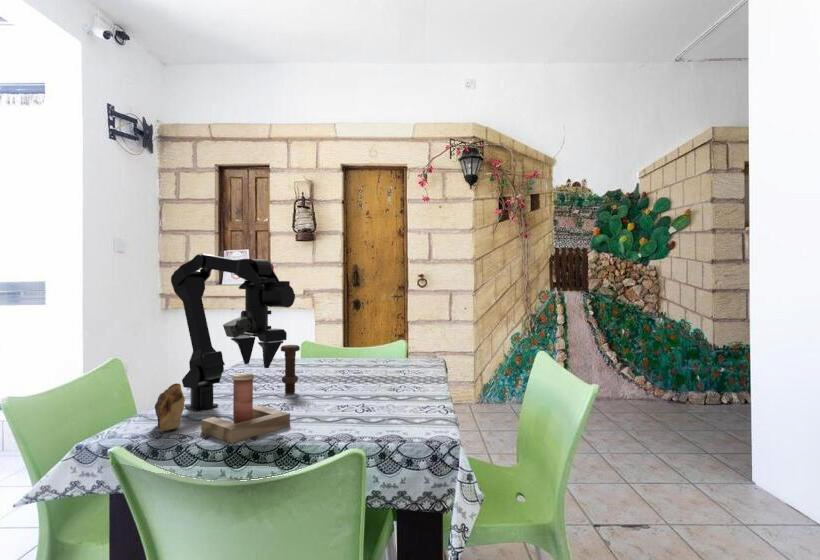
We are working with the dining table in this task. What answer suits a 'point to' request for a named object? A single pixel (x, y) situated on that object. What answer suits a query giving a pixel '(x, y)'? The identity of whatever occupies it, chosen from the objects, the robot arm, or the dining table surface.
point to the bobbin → (242, 398)
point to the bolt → (290, 368)
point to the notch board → (247, 425)
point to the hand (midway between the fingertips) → (256, 366)
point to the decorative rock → (170, 408)
